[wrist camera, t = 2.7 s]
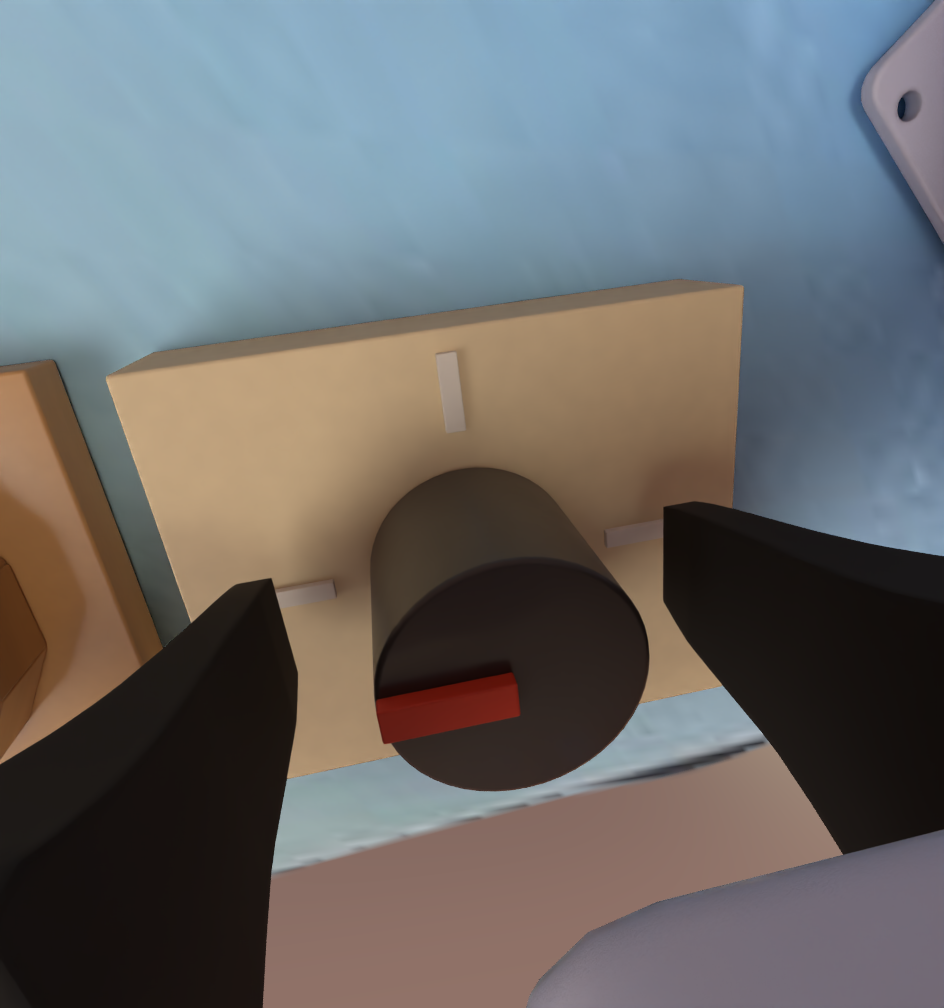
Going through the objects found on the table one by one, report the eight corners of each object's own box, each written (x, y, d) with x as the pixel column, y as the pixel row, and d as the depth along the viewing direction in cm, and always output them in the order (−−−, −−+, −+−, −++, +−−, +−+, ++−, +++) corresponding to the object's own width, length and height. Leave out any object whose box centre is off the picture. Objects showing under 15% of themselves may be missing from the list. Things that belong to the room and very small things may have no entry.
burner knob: (565, 449, 12) (662, 544, 8) (575, 627, 13) (660, 776, 10) (351, 485, 11) (347, 603, 8) (388, 664, 13) (400, 836, 9)
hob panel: (680, 278, 13) (751, 284, 11) (675, 627, 17) (728, 691, 14) (150, 352, 12) (98, 378, 10) (264, 710, 16) (246, 795, 13)
